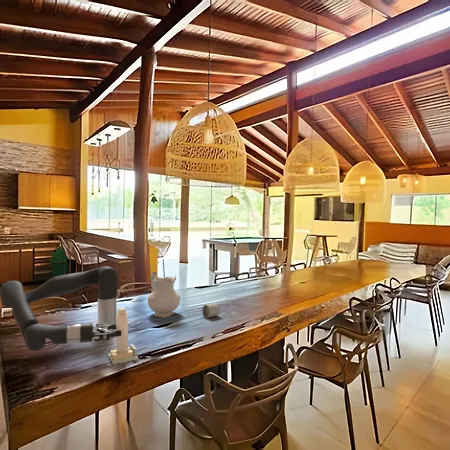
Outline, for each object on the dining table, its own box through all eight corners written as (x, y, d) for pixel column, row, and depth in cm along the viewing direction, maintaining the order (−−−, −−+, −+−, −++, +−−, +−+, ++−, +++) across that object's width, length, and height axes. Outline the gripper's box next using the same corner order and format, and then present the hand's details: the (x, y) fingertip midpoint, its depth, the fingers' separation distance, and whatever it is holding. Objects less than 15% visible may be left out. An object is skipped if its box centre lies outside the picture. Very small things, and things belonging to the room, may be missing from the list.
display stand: (108, 356, 151) (107, 346, 151) (131, 351, 156) (131, 342, 156) (113, 364, 142) (113, 355, 142) (137, 359, 147) (137, 350, 147)
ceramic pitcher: (138, 317, 209) (135, 276, 206) (158, 306, 226) (156, 268, 223) (167, 322, 199) (165, 280, 196) (186, 311, 216) (185, 271, 213)
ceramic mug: (220, 316, 207) (220, 303, 207) (209, 319, 202) (209, 306, 201) (209, 312, 215) (209, 300, 215) (198, 315, 210) (198, 302, 210)
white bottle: (115, 350, 150) (114, 308, 149) (126, 347, 152) (126, 306, 151) (118, 354, 146) (117, 311, 145) (129, 351, 148) (129, 309, 147)
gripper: (82, 336, 151) (121, 332, 155) (78, 349, 137) (121, 344, 142) (81, 318, 150) (121, 315, 155) (77, 330, 137) (121, 326, 141)
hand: (121, 329), depth 148 cm, fingers open, 8 cm apart
